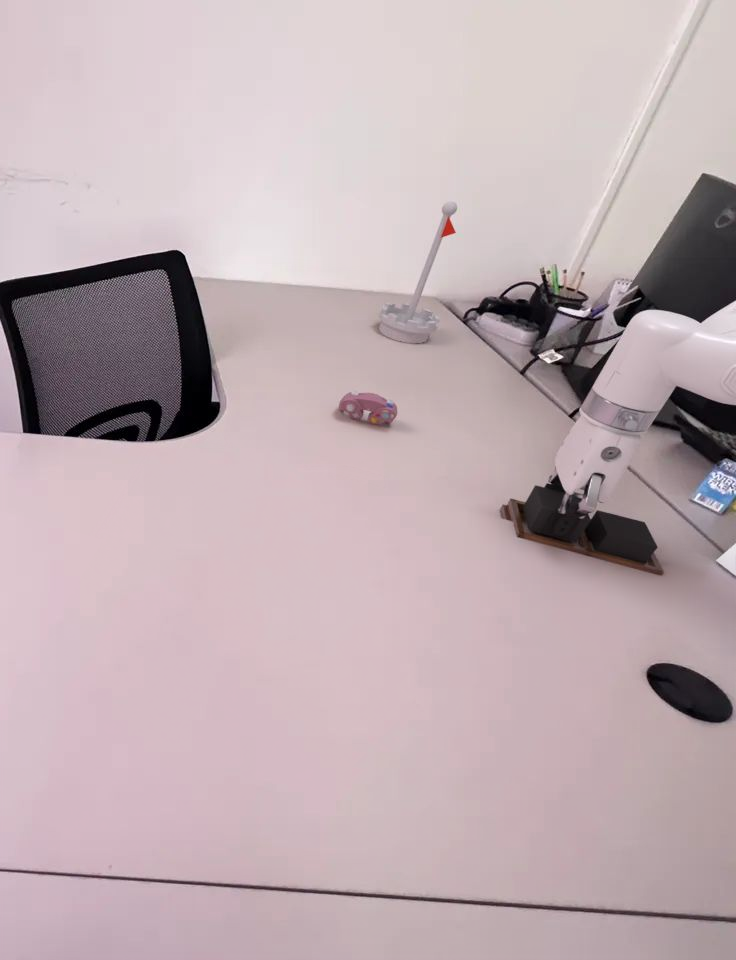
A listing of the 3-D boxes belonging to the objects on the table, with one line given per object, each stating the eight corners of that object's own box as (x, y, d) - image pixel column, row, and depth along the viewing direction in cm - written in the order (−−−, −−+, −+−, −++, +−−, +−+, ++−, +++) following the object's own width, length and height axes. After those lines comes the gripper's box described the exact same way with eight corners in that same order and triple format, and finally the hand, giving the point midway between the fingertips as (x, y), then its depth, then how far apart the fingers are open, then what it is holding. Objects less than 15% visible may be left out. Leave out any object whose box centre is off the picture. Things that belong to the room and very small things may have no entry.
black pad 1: (567, 518, 97) (581, 496, 95) (576, 543, 92) (591, 520, 90) (522, 507, 98) (535, 484, 96) (528, 530, 94) (542, 507, 91)
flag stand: (365, 322, 165) (408, 192, 148) (414, 324, 166) (463, 196, 149) (390, 344, 154) (439, 206, 137) (442, 346, 156) (497, 211, 139)
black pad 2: (629, 543, 96) (645, 521, 93) (641, 569, 91) (658, 547, 89) (582, 531, 97) (596, 509, 95) (592, 556, 92) (607, 534, 90)
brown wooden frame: (636, 545, 97) (646, 531, 96) (657, 588, 89) (668, 574, 88) (499, 509, 102) (507, 496, 100) (508, 548, 94) (516, 534, 93)
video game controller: (333, 422, 123) (341, 398, 117) (338, 403, 125) (347, 379, 119) (389, 436, 121) (400, 413, 115) (393, 416, 123) (405, 393, 117)
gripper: (674, 450, 77) (593, 567, 87) (632, 390, 91) (567, 497, 101) (601, 433, 79) (530, 550, 89) (571, 377, 93) (513, 483, 103)
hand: (550, 521), depth 95 cm, fingers closed on black pad 1, 5 cm apart
